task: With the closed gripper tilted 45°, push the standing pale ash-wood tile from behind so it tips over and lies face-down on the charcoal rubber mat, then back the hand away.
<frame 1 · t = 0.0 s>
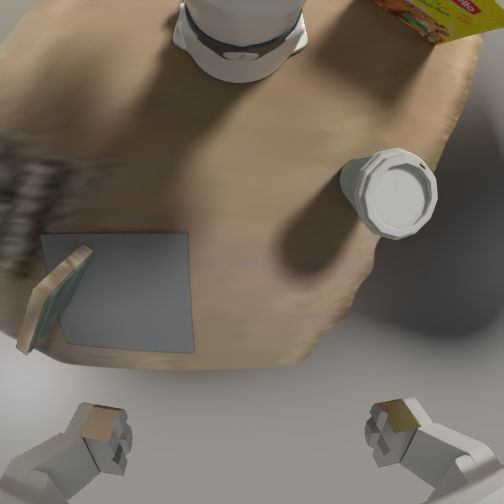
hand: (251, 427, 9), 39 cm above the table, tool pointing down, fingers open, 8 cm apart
charcoal mat: (115, 295, 50), on the table
food package: (399, 18, 36), on the table
ash tile: (74, 274, 48), resting on charcoal mat
disposable coffee cup: (356, 177, 46), on the table
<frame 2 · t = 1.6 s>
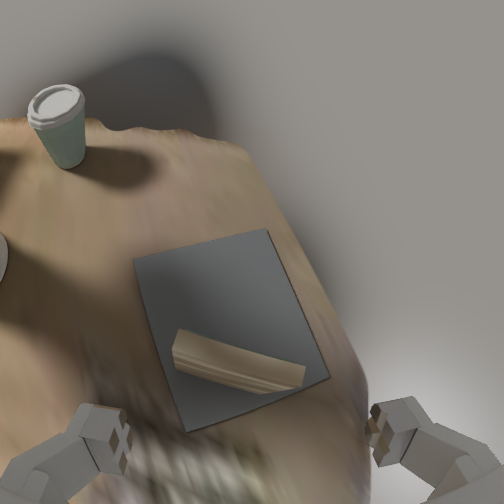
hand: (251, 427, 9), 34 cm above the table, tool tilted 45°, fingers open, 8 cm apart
charcoal mat: (229, 321, 45), on the table
ash tile: (219, 376, 41), resting on charcoal mat
disposable coffee cup: (70, 159, 52), on the table
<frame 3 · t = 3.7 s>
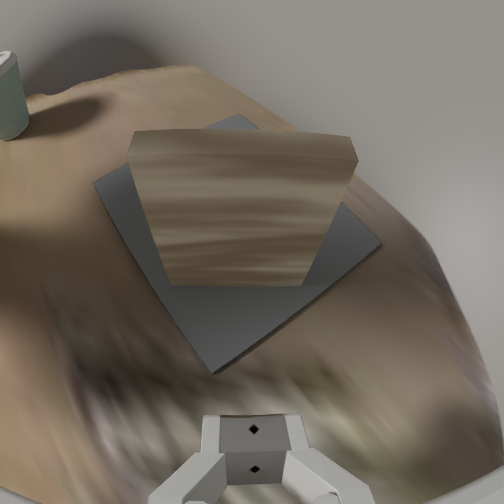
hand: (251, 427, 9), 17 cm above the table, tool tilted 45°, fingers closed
charcoal mat: (227, 210, 34), on the table
ash tile: (236, 276, 30), resting on charcoal mat
disposable coffee cup: (15, 131, 41), on the table
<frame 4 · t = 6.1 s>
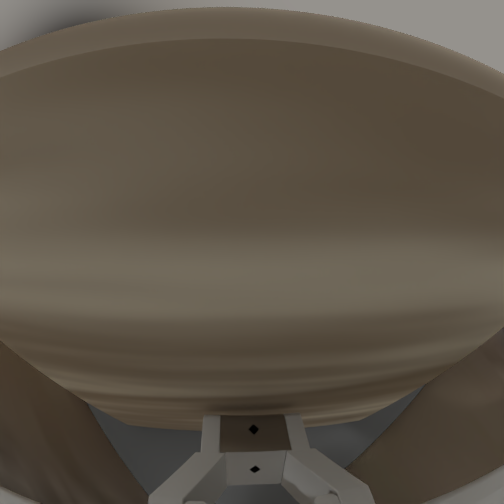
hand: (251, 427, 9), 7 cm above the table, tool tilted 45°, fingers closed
charcoal mat: (226, 276, 19), on the table
ash tile: (244, 412, 15), point 1 cm above the table, tilted 9°, touching charcoal mat
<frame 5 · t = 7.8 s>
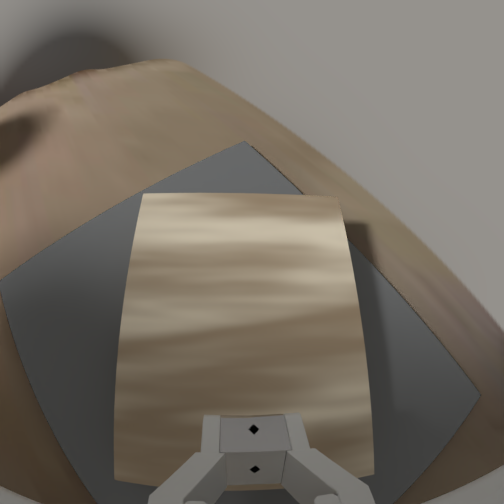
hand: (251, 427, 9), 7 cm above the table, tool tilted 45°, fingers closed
charcoal mat: (225, 363, 17), on the table
ash tile: (245, 486, 12), point 2 cm above the table, tilted 90°, touching charcoal mat
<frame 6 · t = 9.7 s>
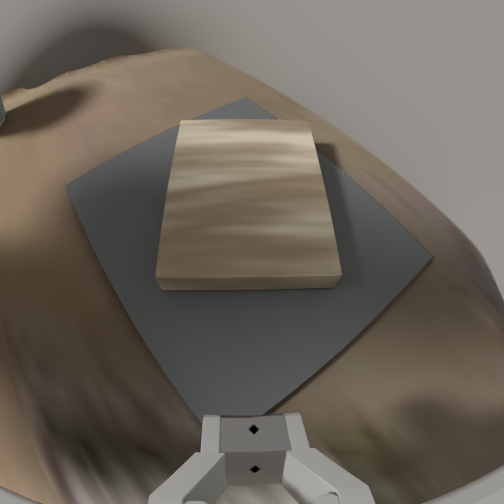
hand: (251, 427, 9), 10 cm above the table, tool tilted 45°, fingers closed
charcoal mat: (235, 217, 26), on the table
ash tile: (249, 283, 21), point 2 cm above the table, tilted 90°, touching charcoal mat
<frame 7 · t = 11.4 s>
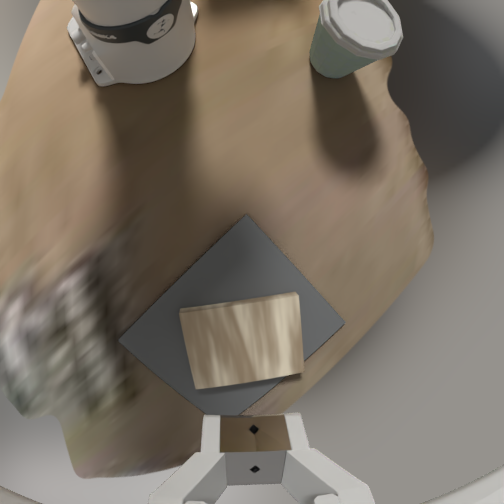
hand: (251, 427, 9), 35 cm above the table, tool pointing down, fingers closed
charcoal mat: (232, 333, 45), on the table
ash tile: (187, 350, 43), point 2 cm above the table, tilted 90°, touching charcoal mat
disposable coffee cup: (326, 61, 41), on the table
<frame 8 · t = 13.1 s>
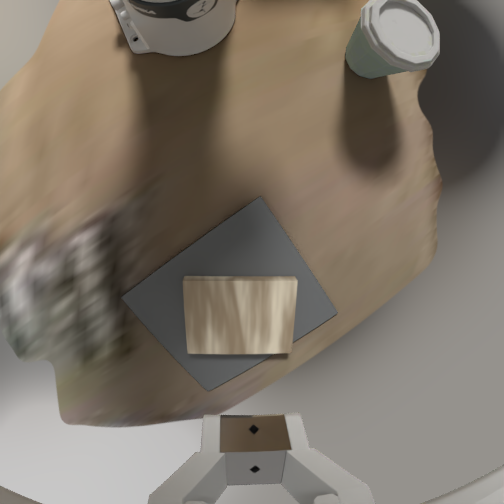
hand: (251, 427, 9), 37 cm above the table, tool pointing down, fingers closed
charcoal mat: (230, 306, 48), on the table
ash tile: (185, 316, 46), point 2 cm above the table, tilted 90°, touching charcoal mat
disposable coffee cup: (361, 60, 40), on the table
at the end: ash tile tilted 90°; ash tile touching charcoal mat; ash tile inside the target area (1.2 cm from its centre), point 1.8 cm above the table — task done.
